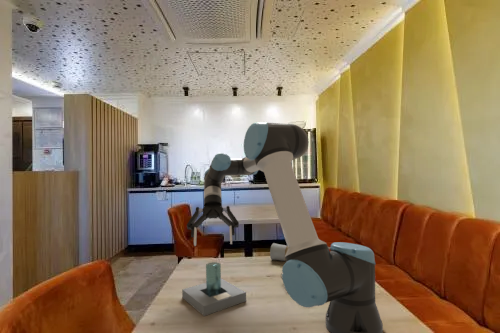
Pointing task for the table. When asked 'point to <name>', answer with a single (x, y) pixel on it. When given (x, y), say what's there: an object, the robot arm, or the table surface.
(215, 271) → the teal cylinder
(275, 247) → the ceramic mug
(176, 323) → the table surface
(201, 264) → the table surface
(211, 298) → the socket block
